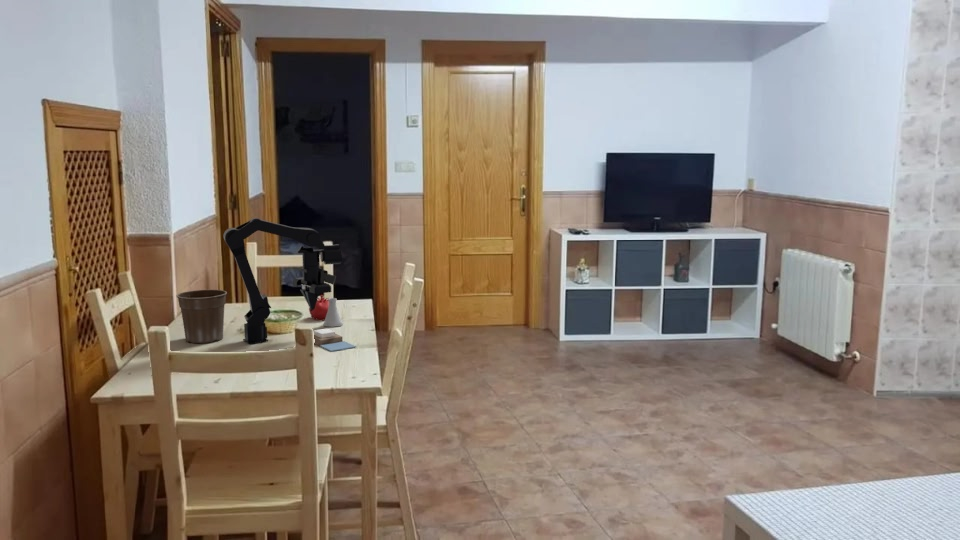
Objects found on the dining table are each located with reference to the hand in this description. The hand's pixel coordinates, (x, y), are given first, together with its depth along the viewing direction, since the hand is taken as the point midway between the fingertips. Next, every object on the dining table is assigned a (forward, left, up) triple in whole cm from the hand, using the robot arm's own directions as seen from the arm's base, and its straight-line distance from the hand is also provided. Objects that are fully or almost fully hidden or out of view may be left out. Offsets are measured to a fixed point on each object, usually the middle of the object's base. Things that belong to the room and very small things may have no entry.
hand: (312, 309), depth 264 cm
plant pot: (-32, +18, -10) cm, 38 cm away
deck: (0, -10, -10) cm, 13 cm away
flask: (+13, +11, -10) cm, 20 cm away
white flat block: (0, -9, -7) cm, 11 cm away
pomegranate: (+15, +24, -10) cm, 30 cm away
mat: (0, -19, -9) cm, 21 cm away
